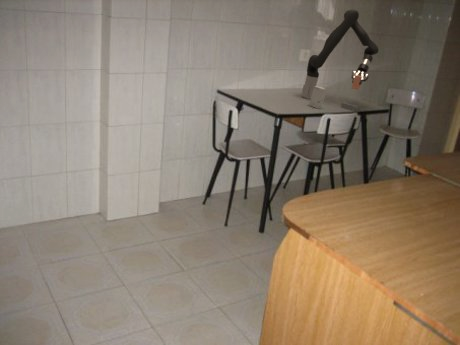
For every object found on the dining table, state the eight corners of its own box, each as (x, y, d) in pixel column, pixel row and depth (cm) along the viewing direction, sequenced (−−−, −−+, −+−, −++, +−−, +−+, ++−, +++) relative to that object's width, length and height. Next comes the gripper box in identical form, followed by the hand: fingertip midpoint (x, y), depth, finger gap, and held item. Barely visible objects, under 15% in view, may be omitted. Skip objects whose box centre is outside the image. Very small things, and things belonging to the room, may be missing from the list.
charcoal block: (354, 111, 355) (356, 106, 353) (340, 107, 359) (342, 102, 358) (358, 109, 364) (359, 104, 363) (345, 106, 369) (346, 101, 367)
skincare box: (308, 105, 346) (313, 85, 340) (312, 104, 350) (317, 85, 345) (318, 108, 341) (323, 88, 336) (322, 108, 346) (327, 88, 340)
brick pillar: (357, 89, 353) (361, 76, 349) (351, 88, 355) (355, 75, 351) (358, 89, 357) (362, 76, 353) (353, 87, 359) (356, 74, 355)
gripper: (355, 61, 358) (347, 78, 352) (373, 65, 352) (365, 82, 347) (354, 67, 364) (347, 84, 359) (373, 71, 359) (365, 88, 353)
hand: (356, 83), depth 353 cm, fingers closed on brick pillar, 4 cm apart
